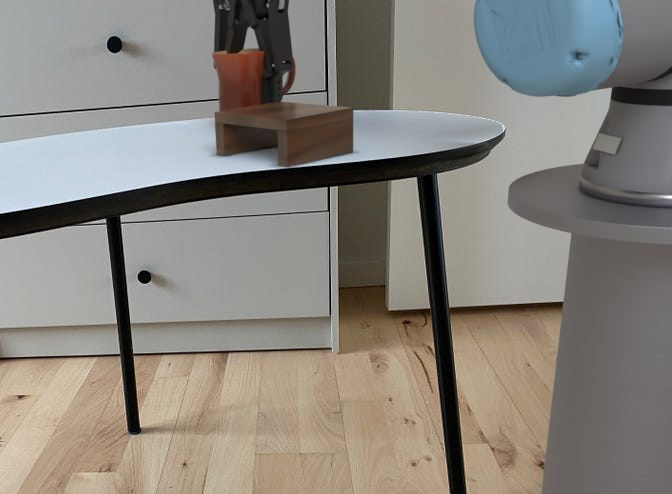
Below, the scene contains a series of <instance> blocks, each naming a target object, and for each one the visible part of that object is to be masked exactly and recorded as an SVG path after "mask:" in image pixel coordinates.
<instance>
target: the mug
mask: <svg viewBox="0 0 672 494" xmlns="http://www.w3.org/2000/svg"><path fill="white" fill-rule="evenodd" d="M210 55H211V58H212V61H213V65H214V64H215V67H216V69H215V71H216V74H217V82H218V111H224V110H230V109H236V108H242V107H248V106H254V105H260V104H263V100H262V78H263V77H262V75H263V74H264V73H266V72H265V69H264V65H263V59H264V51H260V50H259V47H256V48H255V47H254V48H244V49H243V50H241V51H240V52H239V53H234V54H227V51H219V52H214V51H213V52H211V53H210ZM293 64H294V68H293V70H292V71H288V72H287V76H286V81H285V83H284V85H283V97H284V96H286V95H287V94H288V93H289V92H290V91H291V88H292V87H293V85H294V82H295V80H296V72H297V67H296V66H297V65H296V60H295V58H294V57H293Z"/></svg>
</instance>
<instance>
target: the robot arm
mask: <svg viewBox="0 0 672 494" xmlns="http://www.w3.org/2000/svg"><path fill="white" fill-rule="evenodd" d="M289 4H290V0H212V5H213V10H214V36H213V37H214V39H213V53H214V52H219V51H227V54H234V53H239V52H240V51H241V50H243V49H245V44H246V38H247V35H248V33H247V32H248V29H249V28H250V29H252V31H254V36H255V39H256V43H257V46H258V47H257V48H259V50H260V51H264V59H263V65H264V69H265V72H266V73H264V74H263V75H262V77H263V78H262V100H263V104H266V103H272V102H278V101H279V102H282V101H283V97H284V96H283V86H284V85H283V83H284V82H283V79H284V78H283V77H284V75H285V74H286V73H287V74H288V71H292V70H293V68H294V64H293V58H294V56H293V47H292V38H291V37H292V36H291V30H290V27H291V26H290V18H289V6H290V5H289ZM473 8H474V10H473V26H474V27H473V28H474V34H475V40H476V43H477V47H478V49H479V52H480V55H481V57H482V59H483V61H484V63H485V64H486V66H487V68H488V69H489V71H490V72H491V73H492V74H493V76H494V77H495V78H496V79H497V80H498V81H499V82H501V83H503V84H505V85H506V86H508V87H509V88H510V89H511V90H512V91H514V92H516V93H519V94H521V95H525V96H529V97H535V98H537V97H538V98H542V97H543V98H544V97H561V98H562V97H563V98H571V97H576V96H578V95H582V94H587V93H590V92H592V91H598V90H607V89H611V93H610V100H609V106H608V110H607V112H606V114H605V117H604V119H603V121H602V123H601V126H600V127H599V129H598V132H597V134H596V135H595V138H594V140H593V142H592V144H591V147H590V149H589V151H588V153H587V155H586V158H585V160H584V162H583V163H582V164H583V167H582V172H581V174H580V183H579V189H580V191H581V192H583V193H584V194H586V195H588V196H590V197H593V198H596V199H599V200H603V201H607V202H612V203H618V204H624V205H631V206H640V207H652V208H672V0H474V7H473ZM213 69H214V70H216V67H215V64H214V63H213Z"/></svg>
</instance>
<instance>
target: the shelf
mask: <svg viewBox="0 0 672 494" xmlns="http://www.w3.org/2000/svg"><path fill="white" fill-rule="evenodd" d="M214 130H215V132H214V133H215V146H216V149H215V150H216V155H217V156H223V157H227V156H232V155H236V154H241V153H246V152H251V151H257V150H261V149H266V148H271V147H275V146H276V147H277V158H278V159H277V160H278V161H277V162H278V166H281V167H287V168H288V167H294V166H297V165H298V166H299V165H303V164H308V163H311V162H315V161H319V160H320V161H321V160H325V159H329V158H334V157H338V156H342V155H347V154H351V153H352V154H353V152H354V107H352V106H339V105H329V104H327V105H326V104H315V103H303V102H289V101H281V102H279V101H278V102H272V103H266V104H260V105H254V106H248V107H242V108H236V109H230V110H224V111H219V110H218V111H214Z"/></svg>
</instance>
